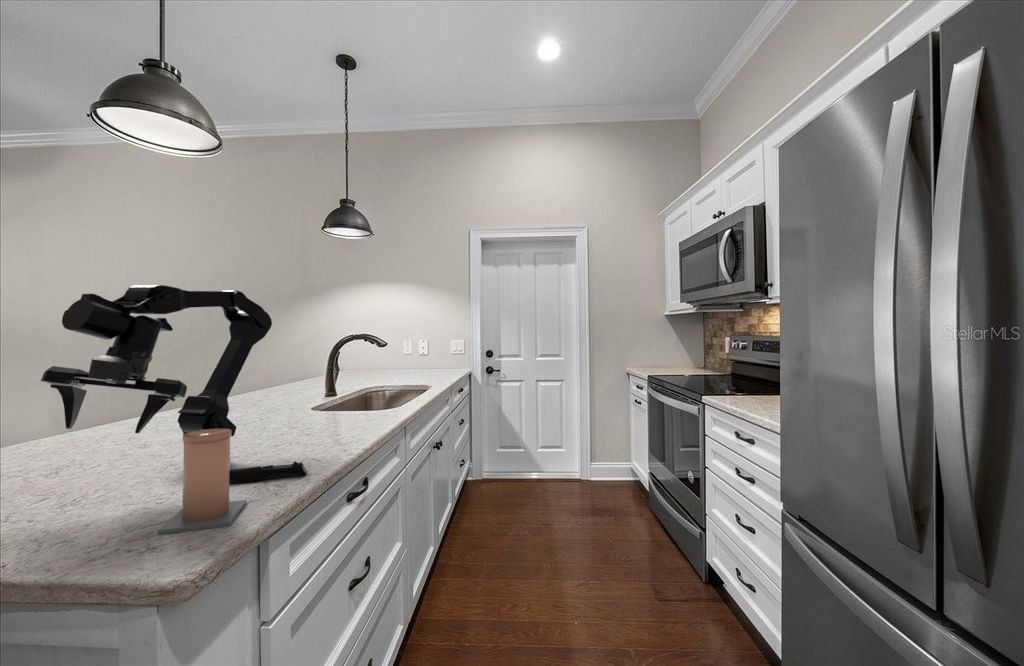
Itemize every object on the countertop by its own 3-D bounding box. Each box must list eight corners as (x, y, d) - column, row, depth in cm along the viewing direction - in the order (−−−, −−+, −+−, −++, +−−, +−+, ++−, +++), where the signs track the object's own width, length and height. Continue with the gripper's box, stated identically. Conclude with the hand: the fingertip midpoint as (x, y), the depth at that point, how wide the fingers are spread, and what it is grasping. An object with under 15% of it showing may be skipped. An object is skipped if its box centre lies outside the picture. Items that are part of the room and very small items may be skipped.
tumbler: (230, 502, 69) (231, 426, 69) (229, 515, 64) (231, 434, 64) (183, 510, 66) (185, 431, 66) (178, 526, 61) (180, 440, 61)
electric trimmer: (221, 483, 81) (221, 467, 81) (306, 472, 88) (306, 458, 88) (216, 489, 78) (216, 473, 78) (305, 477, 85) (305, 462, 85)
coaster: (246, 503, 70) (246, 499, 71) (229, 525, 62) (229, 521, 62) (184, 509, 68) (184, 506, 68) (157, 534, 59) (157, 530, 59)
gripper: (43, 326, 65) (1, 424, 60) (185, 346, 73) (157, 434, 69) (74, 341, 75) (40, 426, 70) (197, 358, 83) (173, 435, 78)
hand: (103, 431), depth 71 cm, fingers open, 9 cm apart
